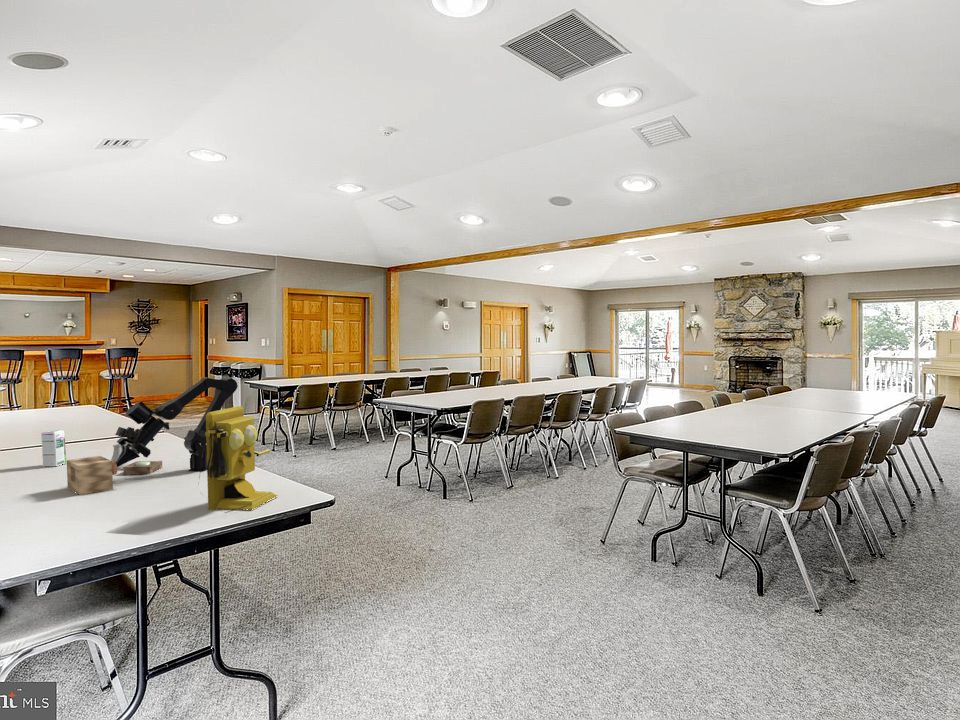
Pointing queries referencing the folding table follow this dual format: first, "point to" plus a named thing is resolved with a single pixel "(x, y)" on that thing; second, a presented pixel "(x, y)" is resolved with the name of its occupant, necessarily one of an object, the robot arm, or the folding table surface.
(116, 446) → the flask
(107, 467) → the wooden box
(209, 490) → the vintage telephone
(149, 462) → the table button
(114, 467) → the plunger
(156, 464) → the button housing
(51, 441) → the syrup box
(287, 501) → the folding table surface
